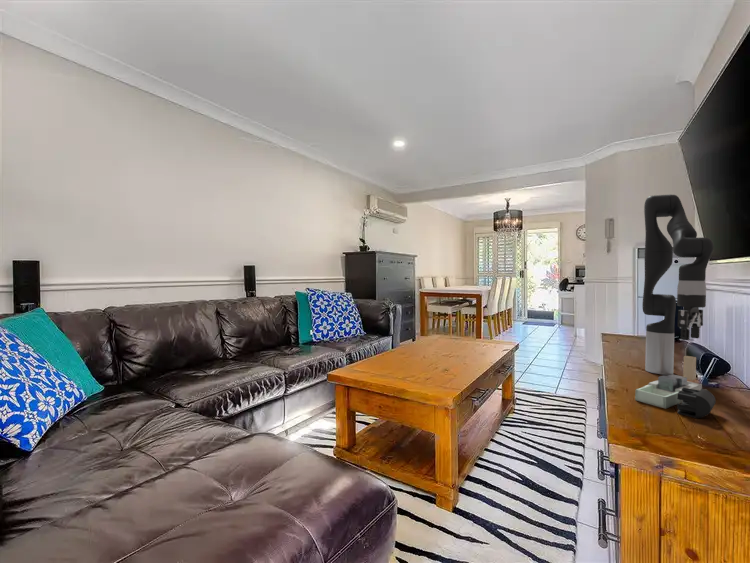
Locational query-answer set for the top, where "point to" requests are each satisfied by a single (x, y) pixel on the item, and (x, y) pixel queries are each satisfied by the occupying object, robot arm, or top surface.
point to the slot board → (663, 392)
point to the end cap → (695, 402)
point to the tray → (656, 397)
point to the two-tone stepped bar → (690, 368)
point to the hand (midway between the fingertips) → (690, 338)
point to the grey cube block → (680, 380)
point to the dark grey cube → (667, 383)
